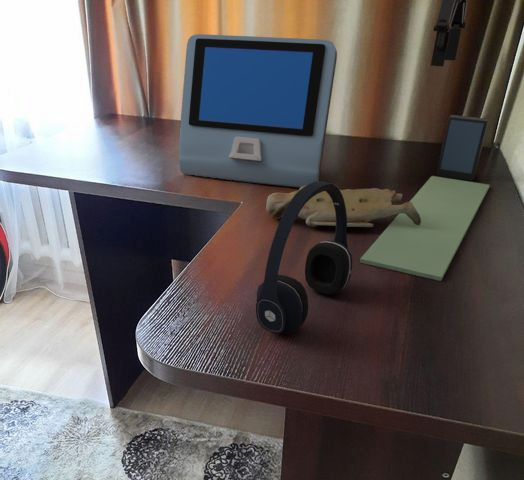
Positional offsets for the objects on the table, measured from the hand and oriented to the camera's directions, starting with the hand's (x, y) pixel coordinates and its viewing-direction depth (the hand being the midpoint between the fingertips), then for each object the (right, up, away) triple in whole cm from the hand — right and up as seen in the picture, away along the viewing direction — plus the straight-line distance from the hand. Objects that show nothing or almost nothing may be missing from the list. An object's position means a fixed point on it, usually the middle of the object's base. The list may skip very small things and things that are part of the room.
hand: (443, 63), depth 118 cm
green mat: (-6, -40, -13) cm, 42 cm away
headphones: (-36, -61, -43) cm, 83 cm away
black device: (+7, -23, +11) cm, 26 cm away
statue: (-26, -41, -16) cm, 51 cm away
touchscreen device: (-44, -22, +11) cm, 50 cm away
